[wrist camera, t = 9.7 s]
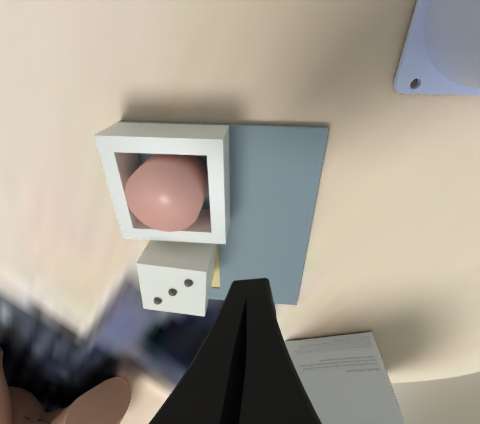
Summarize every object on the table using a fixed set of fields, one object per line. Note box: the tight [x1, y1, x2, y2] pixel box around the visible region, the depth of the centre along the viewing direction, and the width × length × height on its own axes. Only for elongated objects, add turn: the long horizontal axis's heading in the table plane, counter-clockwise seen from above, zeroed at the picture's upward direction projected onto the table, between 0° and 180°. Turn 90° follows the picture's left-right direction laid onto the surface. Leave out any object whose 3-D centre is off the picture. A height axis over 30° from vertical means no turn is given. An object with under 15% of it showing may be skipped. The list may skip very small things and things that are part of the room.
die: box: [137, 240, 216, 316], centre depth 20 cm, size 4×4×5 cm
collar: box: [94, 122, 230, 244], centre depth 17 cm, size 7×7×3 cm
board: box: [119, 121, 329, 305], centre depth 21 cm, size 13×16×1 cm
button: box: [125, 154, 209, 232], centre depth 17 cm, size 4×4×3 cm
